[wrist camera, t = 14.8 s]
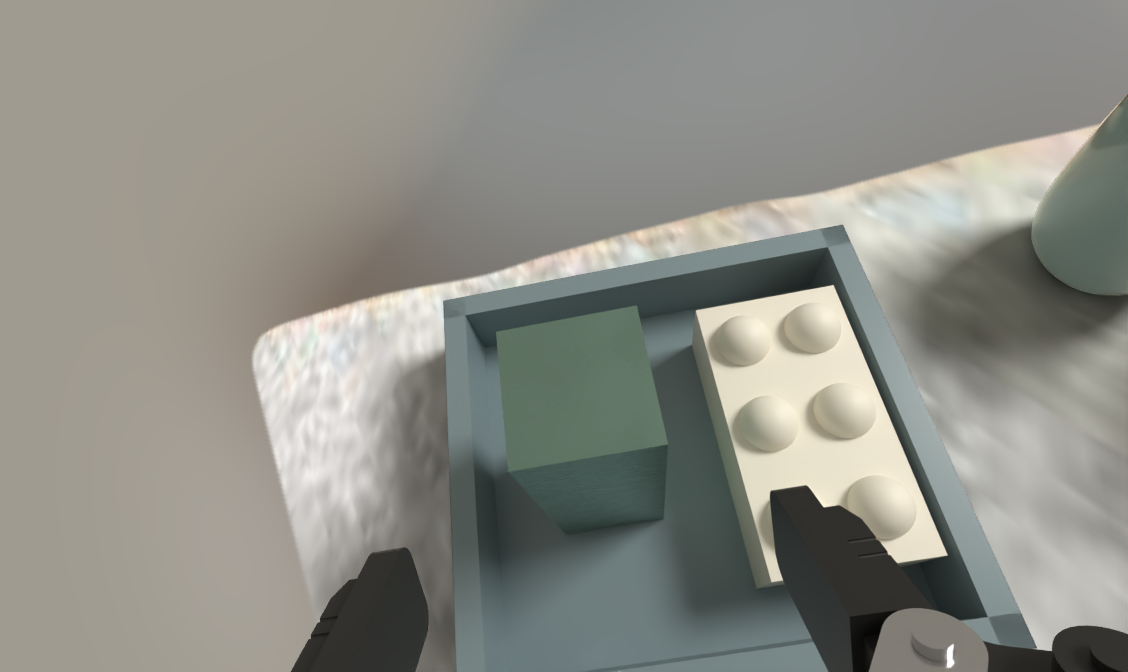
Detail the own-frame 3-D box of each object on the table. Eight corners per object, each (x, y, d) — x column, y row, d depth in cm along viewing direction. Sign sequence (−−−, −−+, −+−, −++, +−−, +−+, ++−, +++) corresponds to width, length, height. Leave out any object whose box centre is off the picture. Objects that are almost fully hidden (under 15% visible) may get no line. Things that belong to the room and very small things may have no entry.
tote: (819, 275, 35) (842, 224, 31) (971, 645, 26) (1036, 648, 21) (469, 340, 36) (443, 300, 32) (490, 713, 27) (458, 729, 23)
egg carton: (814, 322, 33) (840, 271, 28) (909, 565, 26) (963, 551, 22) (691, 344, 33) (697, 297, 28) (756, 589, 27) (777, 579, 22)
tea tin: (644, 425, 31) (636, 305, 20) (663, 519, 29) (668, 444, 17) (554, 440, 32) (495, 332, 20) (566, 535, 29) (508, 472, 18)
